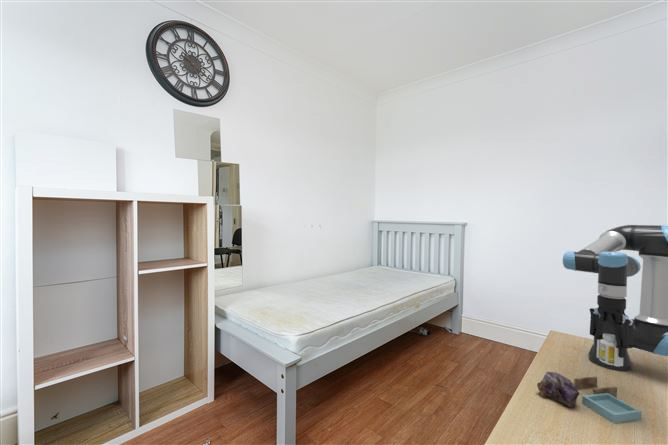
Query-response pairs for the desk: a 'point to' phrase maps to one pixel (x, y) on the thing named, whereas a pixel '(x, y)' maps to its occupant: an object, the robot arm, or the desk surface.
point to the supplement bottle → (607, 348)
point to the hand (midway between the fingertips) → (609, 361)
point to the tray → (611, 407)
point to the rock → (558, 389)
